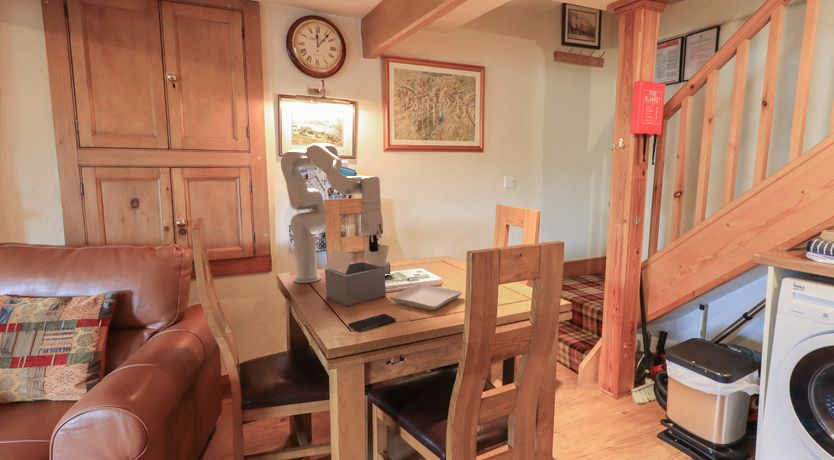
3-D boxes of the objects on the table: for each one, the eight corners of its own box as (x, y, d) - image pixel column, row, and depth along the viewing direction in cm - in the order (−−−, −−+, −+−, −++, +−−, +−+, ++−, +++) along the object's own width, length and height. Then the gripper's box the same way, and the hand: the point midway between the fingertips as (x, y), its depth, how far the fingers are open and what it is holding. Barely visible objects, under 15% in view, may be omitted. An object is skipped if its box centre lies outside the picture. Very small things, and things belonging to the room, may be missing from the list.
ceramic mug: (391, 277, 207) (390, 261, 206) (373, 279, 205) (373, 262, 204) (388, 272, 217) (387, 257, 216) (371, 273, 216) (371, 258, 215)
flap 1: (353, 254, 167) (352, 253, 167) (345, 274, 166) (344, 273, 165) (334, 248, 178) (333, 248, 178) (326, 267, 177) (325, 267, 176)
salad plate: (463, 298, 174) (463, 290, 174) (435, 315, 157) (435, 305, 156) (419, 291, 186) (419, 283, 186) (388, 305, 169) (388, 296, 168)
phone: (397, 319, 151) (359, 330, 141) (397, 322, 151) (359, 333, 142) (384, 313, 157) (346, 323, 148) (384, 316, 157) (347, 326, 148)
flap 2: (367, 241, 188) (368, 241, 189) (363, 260, 188) (364, 260, 189) (387, 245, 177) (389, 246, 178) (384, 265, 177) (385, 266, 177)
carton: (326, 297, 179) (324, 268, 177) (363, 288, 190) (362, 261, 189) (347, 306, 167) (345, 276, 165) (385, 296, 178) (384, 267, 177)
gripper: (354, 206, 182) (356, 250, 185) (374, 208, 171) (376, 255, 173) (369, 205, 187) (371, 247, 190) (389, 207, 175) (391, 252, 178)
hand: (373, 251), depth 182 cm, fingers closed
